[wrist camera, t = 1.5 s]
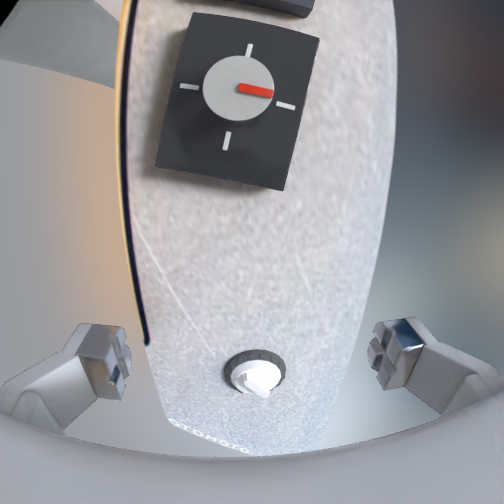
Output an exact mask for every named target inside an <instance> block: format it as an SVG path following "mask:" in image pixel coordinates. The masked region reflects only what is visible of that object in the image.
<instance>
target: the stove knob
mask: <svg viewBox="0 0 504 504" xmlns="http://www.w3.org/2000/svg"><path fill="white" fill-rule="evenodd" d="M285 372H286V367H285V363H284V361H283V360H282V359H281V358H280V357H279V356H278V355H276V354H275V353H272V352H269V351H265V350H250V351H245V352H242V353H240V354H238V355H236V356H234V357H233V358H232V359H230V361H229V362H228V363H227V365H226V367H225V377H226V381H227V382H228V383H229V385H230V386H231V387H232V388H235V389H236V390H238V392H241V393H242V392H244V393H246V394H252V395H259V396H261V397H263V398H267V397H269V391H271V390H273V388H275V387H276V386H279V385H280V384H281V382H282V380H283V379H284V378H285Z"/></svg>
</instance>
